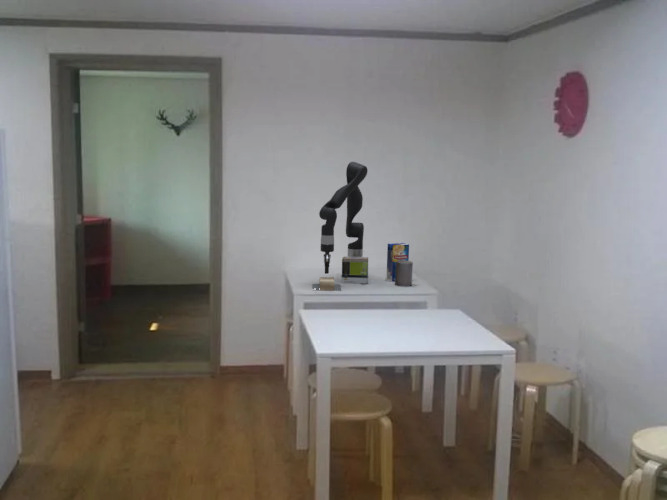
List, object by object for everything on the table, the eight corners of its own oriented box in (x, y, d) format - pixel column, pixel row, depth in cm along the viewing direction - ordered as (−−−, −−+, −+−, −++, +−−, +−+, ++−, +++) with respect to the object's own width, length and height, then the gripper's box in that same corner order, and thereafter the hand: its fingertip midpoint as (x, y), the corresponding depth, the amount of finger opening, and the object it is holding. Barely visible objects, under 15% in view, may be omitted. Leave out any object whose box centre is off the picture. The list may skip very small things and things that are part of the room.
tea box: (368, 281, 429) (368, 256, 427) (367, 284, 419) (367, 259, 417) (342, 280, 430) (343, 255, 428) (341, 283, 420) (341, 258, 418)
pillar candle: (392, 283, 423) (393, 258, 420) (407, 282, 426) (408, 257, 424) (399, 286, 414) (400, 261, 411) (414, 286, 417) (415, 260, 415)
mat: (312, 284, 415) (312, 283, 415) (340, 284, 415) (340, 284, 415) (312, 290, 395) (312, 290, 395) (341, 291, 396) (341, 290, 396)
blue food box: (407, 280, 434) (409, 244, 431) (392, 281, 429) (393, 245, 426) (401, 278, 440) (403, 243, 437) (386, 279, 435) (387, 243, 432)
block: (319, 277, 408) (319, 281, 395) (333, 277, 408) (334, 281, 395) (319, 285, 409) (319, 290, 396) (333, 286, 409) (334, 290, 396)
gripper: (320, 241, 413) (319, 271, 416) (320, 244, 400) (320, 275, 403) (333, 241, 414) (332, 271, 416) (334, 244, 401) (333, 275, 403)
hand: (326, 273), depth 409 cm, fingers closed
